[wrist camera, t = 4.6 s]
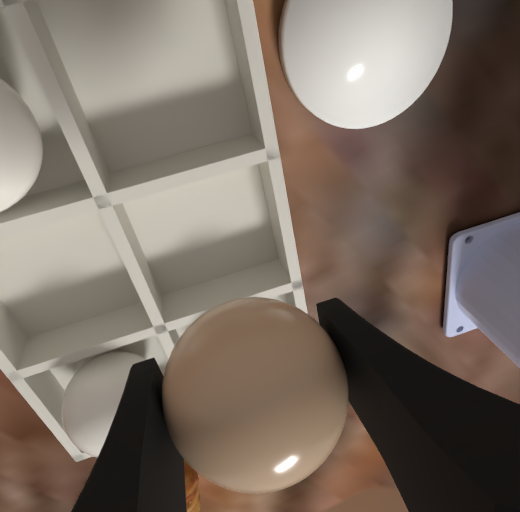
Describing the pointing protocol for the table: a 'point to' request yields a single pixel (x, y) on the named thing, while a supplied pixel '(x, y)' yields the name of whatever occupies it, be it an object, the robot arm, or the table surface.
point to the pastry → (191, 489)
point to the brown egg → (255, 395)
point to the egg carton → (136, 184)
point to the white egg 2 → (95, 399)
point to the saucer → (361, 55)
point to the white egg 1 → (17, 147)
